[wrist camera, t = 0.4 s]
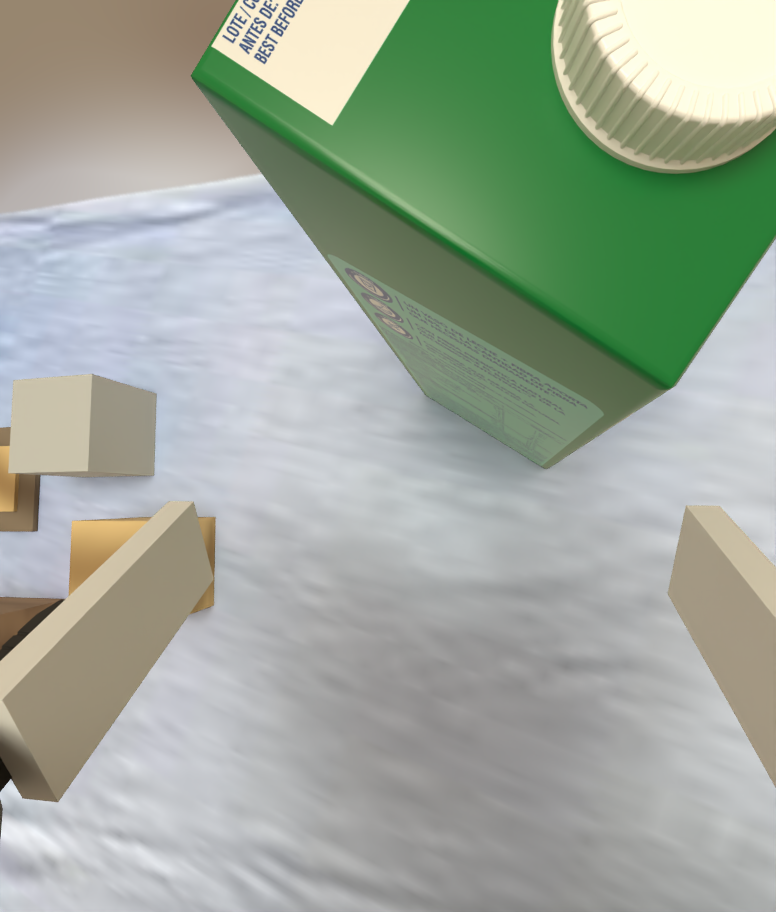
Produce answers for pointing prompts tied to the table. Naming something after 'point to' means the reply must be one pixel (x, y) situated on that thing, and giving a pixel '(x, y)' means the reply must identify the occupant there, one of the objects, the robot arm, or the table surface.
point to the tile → (16, 493)
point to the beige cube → (81, 428)
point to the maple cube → (108, 535)
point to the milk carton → (518, 185)
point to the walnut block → (19, 614)
